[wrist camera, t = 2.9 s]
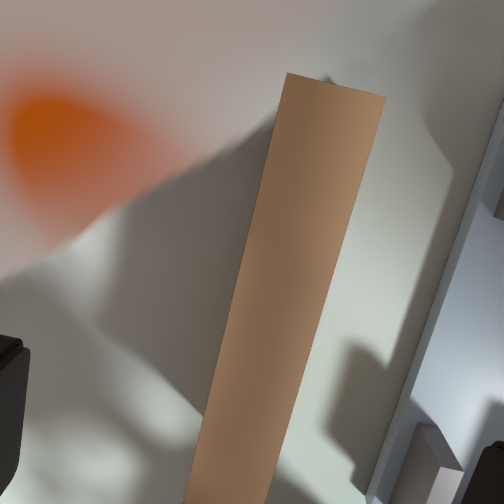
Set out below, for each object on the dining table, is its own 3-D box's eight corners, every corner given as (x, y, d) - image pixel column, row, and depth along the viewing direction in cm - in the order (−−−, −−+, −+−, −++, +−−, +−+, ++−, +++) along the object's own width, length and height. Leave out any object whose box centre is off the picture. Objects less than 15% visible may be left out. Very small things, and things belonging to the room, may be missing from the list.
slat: (351, 108, 19) (385, 97, 14) (261, 428, 23) (258, 525, 18) (282, 90, 19) (287, 72, 14) (204, 414, 23) (181, 507, 18)
